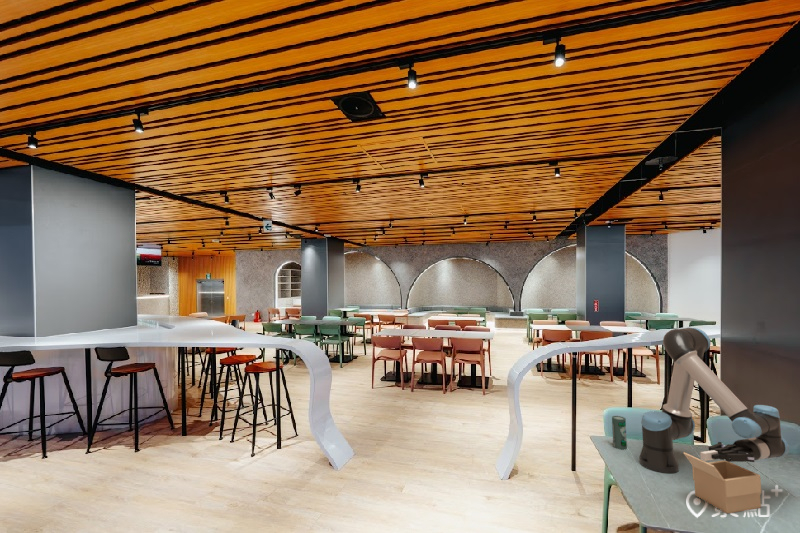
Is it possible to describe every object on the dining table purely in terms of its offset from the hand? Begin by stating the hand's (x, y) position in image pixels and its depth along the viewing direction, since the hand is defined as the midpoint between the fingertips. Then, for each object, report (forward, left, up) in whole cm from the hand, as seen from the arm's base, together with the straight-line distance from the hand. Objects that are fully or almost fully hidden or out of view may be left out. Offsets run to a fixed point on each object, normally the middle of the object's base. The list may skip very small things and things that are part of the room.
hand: (702, 456), depth 143 cm
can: (-36, +42, -19) cm, 58 cm away
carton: (+6, +11, -19) cm, 23 cm away
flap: (0, +3, -4) cm, 5 cm away
